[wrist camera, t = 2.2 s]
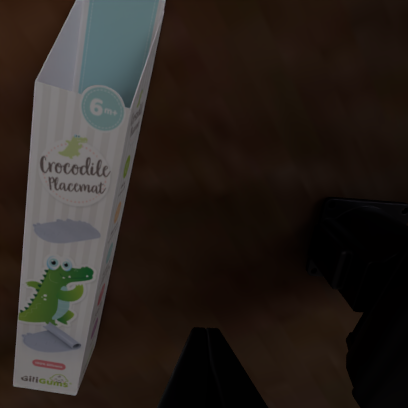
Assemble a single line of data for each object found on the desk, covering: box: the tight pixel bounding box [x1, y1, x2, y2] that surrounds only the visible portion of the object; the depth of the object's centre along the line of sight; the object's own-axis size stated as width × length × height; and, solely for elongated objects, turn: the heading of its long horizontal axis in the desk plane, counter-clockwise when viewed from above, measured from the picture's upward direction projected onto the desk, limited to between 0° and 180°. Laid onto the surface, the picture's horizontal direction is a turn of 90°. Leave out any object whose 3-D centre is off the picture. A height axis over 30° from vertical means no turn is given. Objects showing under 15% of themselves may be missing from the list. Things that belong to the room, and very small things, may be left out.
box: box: [13, 0, 166, 395], centre depth 17 cm, size 4×4×28 cm
